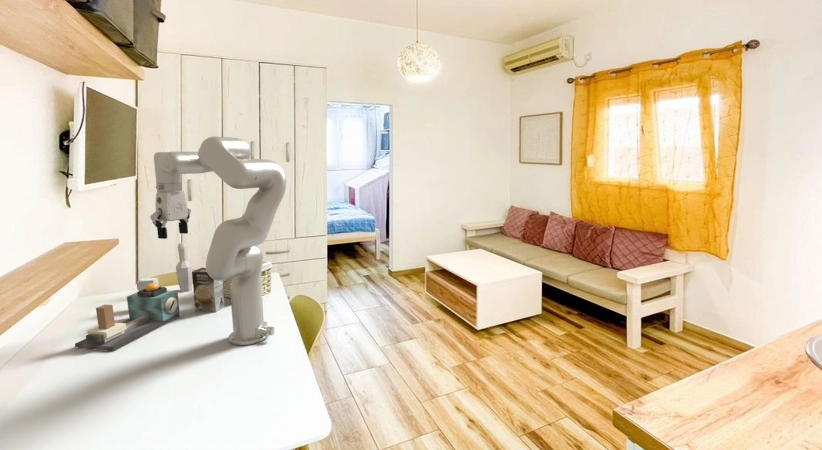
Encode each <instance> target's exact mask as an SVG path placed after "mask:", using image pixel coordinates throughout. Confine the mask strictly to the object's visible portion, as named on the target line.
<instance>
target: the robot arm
mask: <svg viewBox="0 0 822 450" xmlns="http://www.w3.org/2000/svg"><path fill="white" fill-rule="evenodd" d="M251 155H252V149H251V146H250V144H249V143H248V142H246V141H245V140H244V139H242V138H238V137H233V136H232V137H231V136H230V137H228V136H210V137H207V138H205V139H203V141H202V142H201V144H200V146H199V149H198V151H158V152H155V153H154V154H153V162H154V173H155V184H156V185H155V189H156V193H155V205H154V207H155V211H154V212H153V213H152V214H151V215H150V216H149V219H150V220H151V221H152V224H153V225H154V227H155V228H157V230H156V231H157V238H158V239H161V240H162V239H163V240H164V239H165V240H167V239H168V229H167V227H166V225H167V223H168V222H173V221H174V222H175V221H178V233H179V234H188V233H189V229H188V227H189V226H188V223H189V219H190V215H191V213H192V212H191V211H192V210H191V209H190V208H188V204H187V203H188V202H187V199H186V195H185V192H184V191H183V188H182V175H186V174H187V175H189V174H191V175H192V174H194V175H195V174H196V175H197V174H205V173H206V174H207V173H211V172H212V173H214V174H216V175H217V177H219V178H220V179H221V181H223V182H224V183H225V184H226V185H227V186H229V187H230V188H233V189H235V190H245V189H247V190H249V189H257V188H258V189H257V191H256V192H255V193H254V194H253V195H252V196H251V198H250V199H249V201H248V203H247V205H246V208H245V211H244V213H243V214H242V216H241V217H236V218H231V219H227V220H224V221H222V222H221V223H220V224H219V225H218V226H217V227H216V229H215V230H214V233H213V237H212V240H211V243H210V246H209V249H208V252H207V255H206V260H205V268H206V270H207V273H208V275H209V276H210V277H211V278H212V279H214V280H217V281H223V280H227V279H231V278H232V281H231V285H230V296H231V298H230V306H231V308H230V309H231V318H232V331H233V332H231V333H230V334H229V335H228V342H229V343H230V344H231V345H232V344H233V345H237V346H246V345H252V344H257V343H260V342H262V341H264V340H266V339H268V337H269V336H274V334H275V327H274V326H268V323H267V321H265V319H264V307H263V296H262V287H261V272H262V264H263V260H264V257H263V256H264V255H263V252H262V250H261V248H260V247H259V246H260V245H262V244H263V243H264V242H265V241H266V240H267V237H268V235H269V232H270V229H271V227H272V224H273V222H274V219H275V215H276V212H277V211H278V209H279V206H280V204H281V202H282V200H283V198H284V196H285V192H286V189H287V179H286V174H285V171H284V169H283V168H282V166H281V165H280V164H279V163H277V162H276V161H273V160H272V159H271V160H270V159H260V158H259V159H258V158H257V159H256V158H254V159H252V158H251V157H252V156H251Z"/></svg>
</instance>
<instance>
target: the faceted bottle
mask: <svg viewBox="0 0 822 450" xmlns="http://www.w3.org/2000/svg"><path fill="white" fill-rule="evenodd" d="M177 244H178V245H177V251H178V257H179V261H178V263H177V265H176V266H175V272H176V278H177V281H178V286H179V290H180V293H186V292H191V291H193V279H192V272H193V266H192V264H191V263H190V262H189V261H188V258H187V257H188V256H187V245H186V243H185V242H179V243H177Z"/></svg>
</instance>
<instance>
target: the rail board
mask: <svg viewBox="0 0 822 450" xmlns="http://www.w3.org/2000/svg"><path fill="white" fill-rule="evenodd" d="M158 288H159V289H158V290H155V291H146V290H145V289H143V290H140V291H136V292H135V293H132V294H130V295H127V296H126V301H127V310H128V317H129V318H128V319H125V320H124V321H121V322H120V323H126V330H124V333H123V334H121V335H119V336H117V337H115V338H113V339H111V340H109V341H107V342H103V335H93V334H88V333H87V335H85V338H84V339H82V340H80V341H77V342H76V343H74V345H75V346H74V347H75V348H76V347H78V348H77V349H82V348H86V349H85V350H93V349H96V350H95V351H104V350H107V352H116V351H117V350H119V349H122V348H123V347H124V346H127V345H129V344H131V343H133V342H135V341H136V340H138V339H140V338H142V337H144V336H146V335H148V334H150V333H151V332H153V331H156V330H157V329H159V328H162V327H163V326H165V325H167V324H169V323H171V322H172V321H173V322H174V321H175V320H177V319H178V318H180V317H181V312H180V302H179V294H178V293H179V291H178V290H177V291H176V290H168V288H167V287H165V286H159V287H158Z"/></svg>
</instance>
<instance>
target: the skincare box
mask: <svg viewBox="0 0 822 450" xmlns="http://www.w3.org/2000/svg"><path fill="white" fill-rule="evenodd" d="M149 283H158V287H160V286H159V285H160V283H159V278H158V277H146V278H140V279H139V280H137V282H136V284H137V290H138V291H140V290H143V289H145V285H146V284H149ZM138 291H137V292H138Z"/></svg>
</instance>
